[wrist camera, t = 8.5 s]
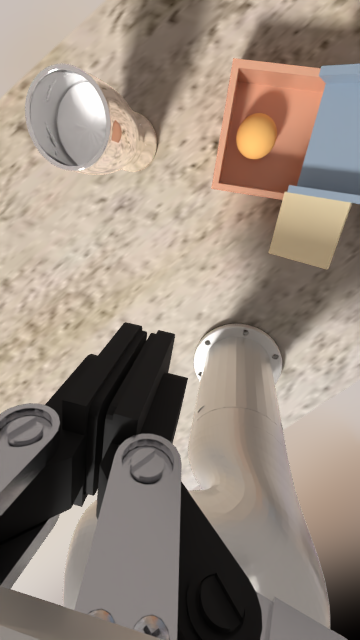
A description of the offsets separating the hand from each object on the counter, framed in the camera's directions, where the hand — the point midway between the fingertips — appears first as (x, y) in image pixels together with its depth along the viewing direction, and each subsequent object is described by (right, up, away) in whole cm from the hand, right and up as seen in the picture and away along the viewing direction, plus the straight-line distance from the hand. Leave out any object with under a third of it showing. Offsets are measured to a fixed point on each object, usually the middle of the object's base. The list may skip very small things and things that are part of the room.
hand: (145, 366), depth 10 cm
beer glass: (-4, +22, +25) cm, 34 cm away
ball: (+9, +20, +21) cm, 30 cm away
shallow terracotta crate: (+11, +21, +23) cm, 33 cm away
